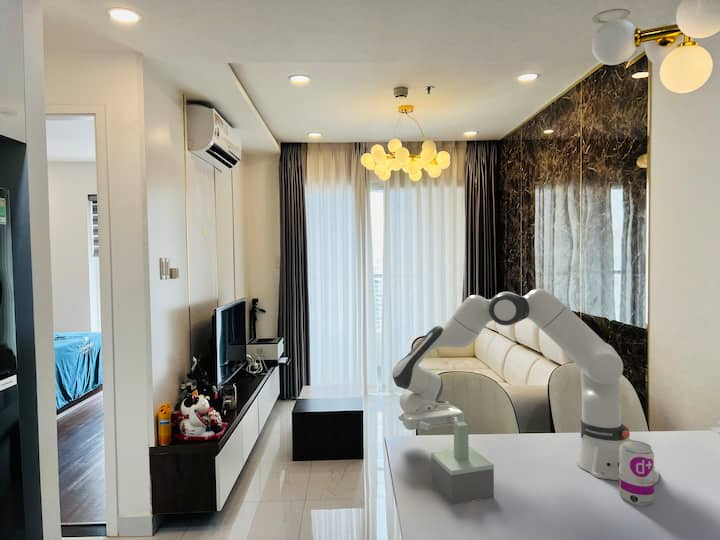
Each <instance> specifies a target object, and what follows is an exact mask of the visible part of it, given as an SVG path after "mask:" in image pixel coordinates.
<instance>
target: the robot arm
mask: <svg viewBox="0 0 720 540" xmlns="http://www.w3.org/2000/svg"><path fill="white" fill-rule="evenodd" d="M525 319H528V320H530V321H531V322H532V323H534V324H535V325H536V326H537V327H538V328H539V329H540V330H541V331H542V332H543V333H544V334H545V335H546V336H548V338H549V339H551V340H552V342H554V344H555V345H557V346H558V347H559V348H560V349H561V351H563V353H564V354H565V355H567V357H568V358H569V359H570V360H571V361H572V362H573V363H574V364H575V365H576V366H577V367H578V368H579V369H580V383H581V384H580V385H581V386H580V387H581V420H580V424H579V425H580V426H579V431H580V432H579V433H580V434H579V435H580V438H581V441H580V442H581V443H580V449H579V453H578V458H577V460H576V464H577V466H578V467H579V468H581V469H582V470H584V471H586V472H588V473H590V474H592V475H593V476H594V477H595V478H598V479H604V480H605V479H606V480H613V481H619V447H620V445H621V442H622V441H625V440H632V438H630V435H631V434H630V431H629V427H628V425H624V424H623V423H622V399H621V389H620V388H621V387H620V378H621V376H622V374H623V372H624V362H623V360H622V358H621V356H620V355H619V354H618V352H617V351H616V350H615V348H614V347H613V346H612V345H611V344H609V343H607V342H605V341H604V340H603V339H602V338H601V337H600V336H599V335H598V334H597V333H596V332H595V331H594V330H593V329H592V328H591V327H589V326H588V324H586V322H584V321H583V320H582V319H581V318H580V317H579V316H578V315H577V314H575V313H574V311H572V310H571V309H570V308H569V307H568V306H567V305H566V304H564V302H563V301H561V300H560V299H559V298H557V296H555V295H554V294H552V293H551V292H549V291H547V290H545V289H544V288H539V287H538V288H534V289H531V290H530V291H528V293H526V294H525V295H518V294H517V293H514V292H512V291H502V292H499V293H498V294H496V295H494V296H492V297H490V298H489V299H487V298H486V297H483V296H481V295H480V294H479V295H478V294H472V295H469V296H468V297H466V299H465V300H464V301H463V302H461V304H460V305H459V306H458V308H457V309H456V310H455V312H454V313H453V315H452V316H451V317H450V318H449V320H447V321H446V322H445V323H443V324H441V325H436V326H434V327H433V328H432V329H430V330H429V331H428V332H427V334H425V335H424V336H423V338H421V340H420V341H419V342H418V343H417V344H416V345H415V346H414V348H413V349H412V350H411V351H410V352H409V353H407V355H406V356H405V357H403V358H402V359H400V360H399V362H397V364H396V365H395V367H394V368H393V370H392V380H393V382H394V383H395V384H394V385H396V387H398V388H400V389H404V390H405V391H403V392H402V393H401V395H400V397H399V406H400V408H401V410H402V411H403V413H402V414H401V415H398V420H399V421H401V422H402V425H403V426H404V428H405V429H406V430H410V431H414V430H420V429H421V430H425V431H427V432H428V431H432V428H438V427H444V426H445V427H446V426H452V427H453V428H454V423H455V422H464V421H465V419H464V418H465V417H464V416H465V415H464V411H462V410H461V409H459V408H458V407H456V406H454V405H451V403H450V402H449V401H444V400H439V399H440V398H441V395H442V393H443V389H444V387H443V386H444V385H443V380H442V377H441V375H440V374H438V373H436V372H434V371H432V370H431V369H427V368H426V367H424V366H422V365H420V364H421V363H422V361H424V359H426V357H427V356H429V354H430V353H431V352H432V351H433V350H435V349H438V348H452V349H463V348H467V347H469V346H471V345H473V343H474V342H476V340H477V338H478V337H479V335H480V334H481V333H482V331H483V329H484V328H485V327H486V325H487V324H488V323H490V322H492V321H494V322H495V323H497V324H498V325H501V326H503V327H504V326H507V327H508V326H512V325H515V324H517V323H519V322H521V321H523V320H525ZM464 423H465V422H464ZM659 480H660V474H659V471H658V469H657V468H656V466H654V485H655V484H657V483H658V482H659Z"/></svg>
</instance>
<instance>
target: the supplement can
mask: <svg viewBox="0 0 720 540" xmlns="http://www.w3.org/2000/svg"><path fill="white" fill-rule="evenodd" d="M654 467H655V453H654V451H653V449H652V446H651V445H650V444H648V443H646V442H644V441H639V440H633V439H631V440H625V441H622V442H621V445H620V447H619V480H618V483H619V484H618V485H619V487H618V488H619V489H618V493H619V496H620V497H621V498H622V499H623V500H624V501H626V502H627V503H629V504H632V505H635V506H643V507H645V506H650V505H651V504H653V503H654V501H655V484H654Z"/></svg>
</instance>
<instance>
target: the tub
mask: <svg viewBox="0 0 720 540" xmlns="http://www.w3.org/2000/svg"><path fill="white" fill-rule="evenodd" d="M430 461H431V462H430V465H431V467H430V470H431V479H430V480H431V484H432V485H433V487H434V488H435V489H436V490H439V491H438V492H439V493H440V494H441V495H442V496H443V498H445V499H446V500H447V501H448V502H449V503H450V505H457V504H462V503H461V502H463V503H467V502H466V501H469V502H473V501H472V500H475V501H480V500H479V499H481V500H485V498H487V499H490V498H495V482H494V481H495V475H494V474H495V471H494V469H489V470H482V471H476V472H469V473H463V474H456V475H451V474H450V473H448V472H447V471H446V470H445V469H444V468H443V467H442V466H441V465H440V464H439V463H438V462H437V461H435V460H434V459H433V458H432V457H431V456H430ZM477 499H478V500H477Z"/></svg>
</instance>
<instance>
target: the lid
mask: <svg viewBox="0 0 720 540" xmlns="http://www.w3.org/2000/svg"><path fill="white" fill-rule="evenodd" d="M430 453H431V454H430V458H431V457H432V458H433V459H434V460H435V461H437V462H438V463H439V464H440V465H441V466H442V467H443V468H444V469H445V470H446V471H447V472H448V473H450V474H451V475H456V474H463V473H469V472H476V471H482V470H489V469H494V468H495V467H494V465H495V464H494V463H492V462H491V461H490V460H488V459H487V458H486V457H484V456H483V455H481V454H480V453H479V452H478V451H476V450H475V449H473V447H469V425H468V424H467V423H466V422H455V423H454V427H453V449H447V450H441V451H433V452H430Z"/></svg>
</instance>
